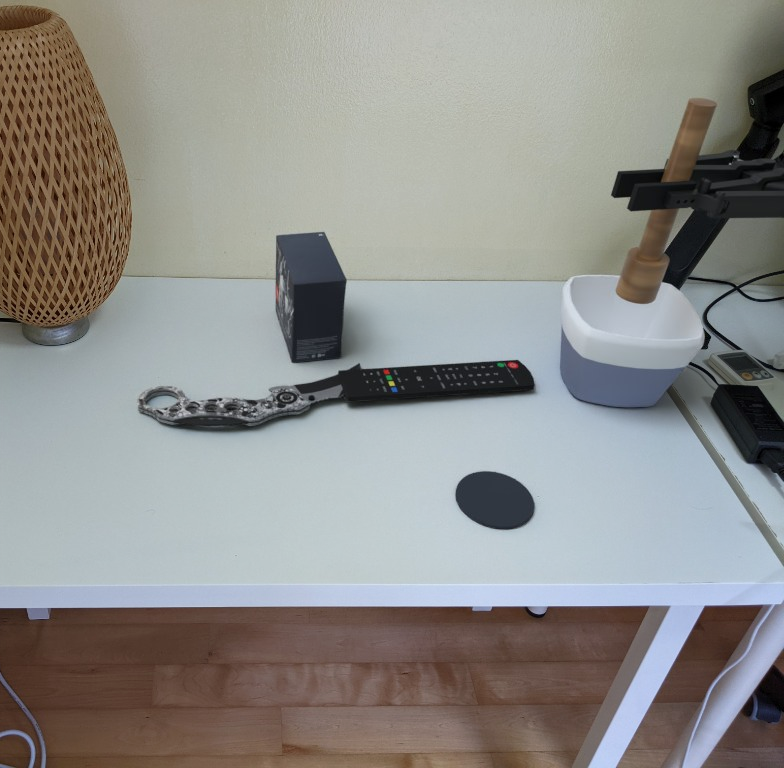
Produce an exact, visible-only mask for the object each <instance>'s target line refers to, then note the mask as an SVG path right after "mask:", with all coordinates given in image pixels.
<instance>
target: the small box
mask: <svg viewBox="0 0 784 768" xmlns="http://www.w3.org/2000/svg"><path fill="white" fill-rule="evenodd" d="M347 280H348V279H347V277H346V275H345V273H344V271H343V268H342V266H341V264H340V263H339V260H338V257H337V256H336V254H335V252H334V249H333V247H332V245H331V243H330V240H329V239H328V237H327V235H326V232H325V231H314V232H299V233H288V234H286V233H285V234H277V235H275V309H274V310H275V313H276V314H275V315H276V317H277V319H278V323H279V326H280V329H281V332H282V335H283V338H284V341H285V346H286V349H287V351H288V355H289V358H290V362H291V363H301V362H312V361H323V360H333V359H342V355H343V354H342V349H343V347H342V345H343V343H342V342H343V331H344V329H343V328H344V316H345V315H344V313H345V300H346V289H347V282H348V281H347Z"/></svg>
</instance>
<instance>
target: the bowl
mask: <svg viewBox="0 0 784 768" xmlns="http://www.w3.org/2000/svg"><path fill="white" fill-rule="evenodd" d="M619 278H620V275H616V274H615V275H610V274H583V275H574V276H571V277H570V278H569V279H568V280H567V281H566V282H565V284H564V286H563V287H562V291H561V319H560V321H561V327H560V328H561V329H560V358H559V361H560V362H559V371H560V376H561V378H562V380H563V383H564V384H565V386H566V387H567V389H568V390H569V391H568V392H570V393H571V394H572V396H574V397H575V398H576V399H578V400H581V401H584V402H587V403H592V404H597V405H601V406H608V407H615V408H646V407H653V406H654V405H656V404H657V403H658V402H659V400H660V399H661V398H662V396H664V394H665V393H666V392H667V391H668V389H669V388H670V387H671V386H672V385H673V383H674V382H675V381H676V379H677V378H678V377H679V376H680V374H681V373H682V372H683V371H684V370H685V368H686V367H687V366H688V365H689V364H690V363H691V362H692V360H693V359H694V358H695V357H696V355H697V354H698V353H699V351H700V350H702V348H703V346H704V344H705V339H706V338H705V337H706V336H705V330H704V327H703V322H702V320H701V317H700V314H699V313H698V311H697V309H696V308H695V307H694V305H693V304H692V302H691V301H690V300H689V299H688V297H686V295H685V294H684V293H683V292H682V291H681V290H680V289H678V288H677V287H676V286H674V285H673V284H671V283H669V282H668V283H667V282H664V281H662V283H661V286H660V288H659V291H658V294H657V296H656V299H655V301H653V302H652V303H649V304H636V303H632V302H628V301H626V300H624V299H622V298H620V297H619V296H618V295H617V294H616V287H617V284H618V281H619Z"/></svg>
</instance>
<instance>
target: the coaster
mask: <svg viewBox="0 0 784 768" xmlns="http://www.w3.org/2000/svg"><path fill="white" fill-rule="evenodd" d="M454 493H455V495H454V496H455V501H456V503H457V506H458V508H459V509H460V510H461V511H462V513H463V514H464V515H465V516H467V517H468V518H469V519H470V520H472V521H473V522H475V523H477V524H479V525H481V526H484V527H487V528H491V529H496V530H510V529H516V528H519V527H521V526H523V525H525V524H526V523H528V522H529V520H530V519H531V518H532V516H533V514H534V511H535V501H534V498H533V495H532V493H531V492H530V491H529V489H528V488H527V487H526V485H524V484H523V483H521V482H520V481H519V480H518V479H516V478H513V477H512V476H510V475H507V474H505V473H502V472H497V471H490V470H480V471H475V472H471V473H469V474H467V475H465V476H463V478H462V479H460V481H458V483H457V486H456V488H455V492H454Z"/></svg>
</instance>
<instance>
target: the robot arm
mask: <svg viewBox="0 0 784 768" xmlns="http://www.w3.org/2000/svg"><path fill="white" fill-rule="evenodd" d="M740 153H741V152H740V151H739V150H737V149H728V150H725V151H723V152H718V153H710V154H709V153H708V154H699V156H698V159H697V161H696V164H695V167H694V170H693V172H692V175H691V178H690V181H676V182H661V180H662V177H663V174H664V171H665V168H666V165H667V162H668V159H669V158H667V159H666V160H665V164H664V167H663V168H653V169H635V170H619V171H617V174H616V176H615V180H614V182H613V183H614V184H613V187H612V190H611V192H610V193H611V194H610V196H611V197H612V198H613V199H622V198H623V199H624V198H629V201H628V204H627V206H626V209H627V210H628V211H629V212H645V211H646V212H647V211H651V210H663V209H679V210H680V209H688V208H690V209H692V210H693V211H697V212H703V211H704V212H705V211H707V214H706V216H707V217H709V218H711V219H778V218H780V219H784V151H783V152H781V153H780V154H779V155H777V156H776V157H775V158H758V159H752V160H743V159H741V158H740Z"/></svg>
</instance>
